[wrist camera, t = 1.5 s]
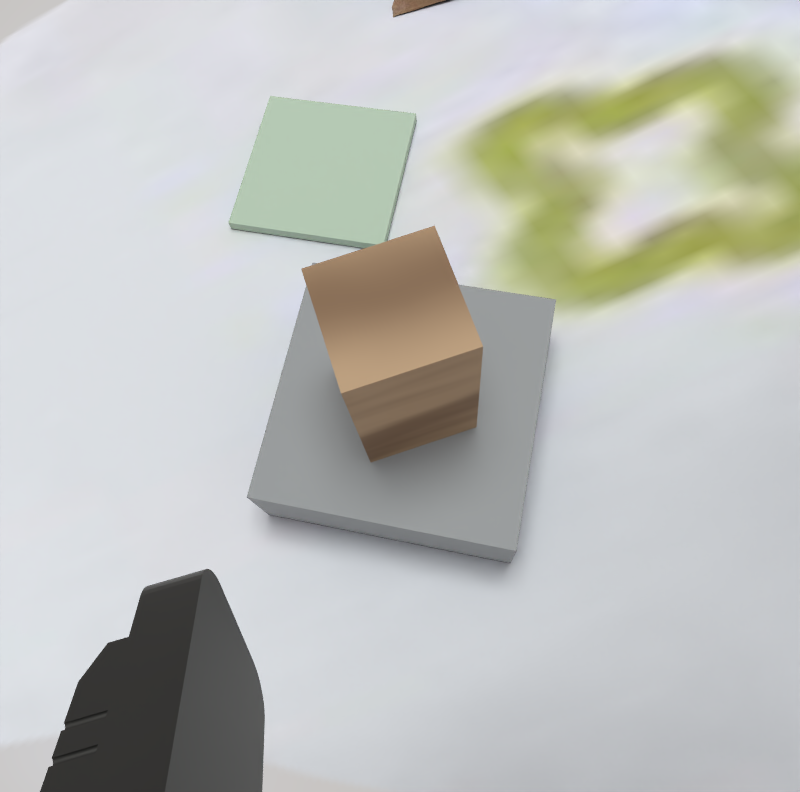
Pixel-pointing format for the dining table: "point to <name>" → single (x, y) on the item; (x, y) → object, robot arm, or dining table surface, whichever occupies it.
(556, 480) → the dining table surface
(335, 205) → the mat
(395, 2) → the wooden fragment
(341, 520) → the gray square slab
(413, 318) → the walnut block
